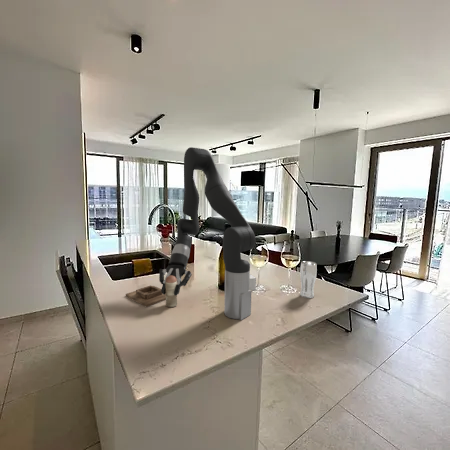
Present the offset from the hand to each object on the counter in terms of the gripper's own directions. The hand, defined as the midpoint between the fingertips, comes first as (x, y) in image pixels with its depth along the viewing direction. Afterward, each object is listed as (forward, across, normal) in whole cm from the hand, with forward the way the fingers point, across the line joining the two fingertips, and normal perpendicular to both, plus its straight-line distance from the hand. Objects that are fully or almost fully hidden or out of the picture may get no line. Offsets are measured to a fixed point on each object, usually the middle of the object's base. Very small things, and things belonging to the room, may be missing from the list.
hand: (169, 294), depth 102 cm
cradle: (-2, -13, +10) cm, 16 cm away
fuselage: (+2, 0, +5) cm, 6 cm away
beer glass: (-13, +55, +21) cm, 61 cm away
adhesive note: (-15, +28, +23) cm, 40 cm away
